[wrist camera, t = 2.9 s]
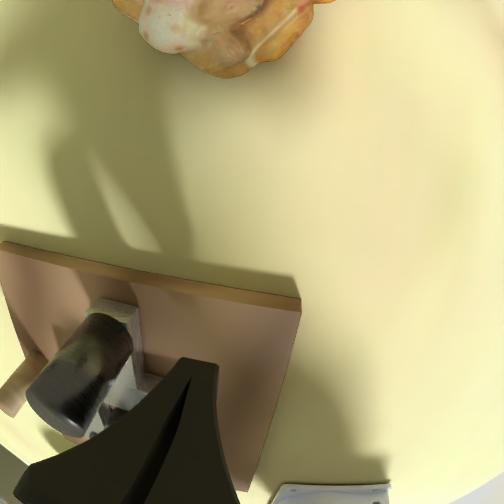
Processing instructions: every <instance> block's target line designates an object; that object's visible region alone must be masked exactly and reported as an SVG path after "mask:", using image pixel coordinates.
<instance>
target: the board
mask: <svg viewBox="0 0 504 504" xmlns="http://www.w3.org/2000/svg"><path fill="white" fill-rule="evenodd" d="M0 281H1V285H2V289H3V293H4V296H5V300H6V303H7V306H8V310H9V313H10V316H11V319H12V322H13V325H14V328H15V331H16V334H17V337H18V339H19V342H20V345H21V347H22V350H23V353H24V355H25V358H27V357H28V355H29V354H30V353H31V352H32V351H33V350H37V351H39V352H40V353H42V354H43V355H44V356H45V357H46V358H47V359H48V361H50V360H51V359H52V357H53V356H54V355H55V354H56V353H57V351H58V350H59V349H60V348H61V347H62V345H63V344H64V343H65V342H66V341H67V339H68V338H69V337H70V336H71V335H72V334H73V332H74V331H75V330H76V329H77V328H78V327H79V325H80V324H81V323H82V322H83V321H84V320H85V318H86V317H85V311H86V310H87V309H88V307H89V306H90V305H91V304H92V303H93V302H94V301H95V300H96V299H97V298H98V297H100V298H104V299H108V300H112V301H116V302H120V303H124V304H128V305H133V306H137V307H138V308H139V319H140V330H141V339H142V348H143V357H144V365H145V372H146V373H148V374H151V375H155V376H159V377H163V378H164V377H165V376H166V374H167V373H168V372H169V371H170V370H171V369H172V367H173V366H174V365H175V364H176V362H177V361H178V360H179V359H180V358H181V357H186V358H191V359H196V360H201V361H205V362H210V363H216V364H217V365H218V366H219V379H218V391H217V400H216V406H217V418H218V426H219V432H220V438H221V443H222V448H223V452H224V456H225V460H226V464H227V467H228V471H229V474H230V477H231V480H232V483H233V486H234V489H235V490H237V491H243V492H248V490H249V487H250V484H251V481H252V479H253V476H254V473H255V470H256V467H257V464H258V461H259V458H260V455H261V452H262V449H263V446H264V443H265V440H266V437H267V433H268V430H269V427H270V424H271V421H272V417H273V414H274V411H275V408H276V404H277V401H278V397H279V394H280V391H281V387H282V384H283V380H284V377H285V373H286V370H287V366H288V363H289V359H290V355H291V352H292V348H293V344H294V340H295V337H296V333H297V329H298V325H299V321H300V317H301V313H302V309H301V299H299V298H292V297H286V296H279V295H273V294H267V293H260V292H254V291H248V290H242V289H236V288H230V287H224V286H219V285H213V284H207V283H201V282H196V281H190V280H185V279H179V278H174V277H169V276H163V275H158V274H153V273H148V272H143V271H138V270H133V269H128V268H123V267H118V266H113V265H108V264H103V263H99V262H94V261H89V260H85V259H80V258H75V257H71V256H66V255H62V254H57V253H53V252H49V251H44V250H40V249H36V248H31V247H27V246H23V245H19V244H15V243H11V242H7V241H4V242H2V243H0ZM109 407H110V411H111V414H112V412H113V410H114V408H115V406H112V405H109ZM62 434H63V433H62ZM63 436H64V437H65V439H68V440H70V441H72V442H74V443H76V444H81V443H83V442H85V441H87V439H86V437H85V435H84V436H83V437H82V438H74V437H70V436H67V435H65V434H63Z"/></svg>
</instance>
